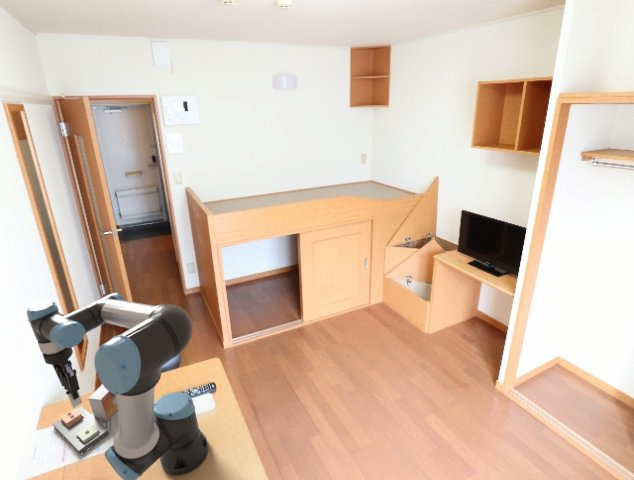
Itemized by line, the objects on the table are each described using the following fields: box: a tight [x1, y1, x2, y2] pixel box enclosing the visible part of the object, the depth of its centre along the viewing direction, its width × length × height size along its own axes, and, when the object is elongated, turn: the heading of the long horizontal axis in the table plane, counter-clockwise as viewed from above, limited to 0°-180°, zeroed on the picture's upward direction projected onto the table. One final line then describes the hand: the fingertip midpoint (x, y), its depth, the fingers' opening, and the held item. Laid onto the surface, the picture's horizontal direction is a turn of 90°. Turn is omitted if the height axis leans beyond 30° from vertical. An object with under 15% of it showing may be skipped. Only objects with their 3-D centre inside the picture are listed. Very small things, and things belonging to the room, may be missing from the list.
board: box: [52, 405, 110, 455], centre depth 135 cm, size 20×10×2 cm, turn 55°
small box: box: [87, 383, 118, 422], centre depth 141 cm, size 8×6×10 cm
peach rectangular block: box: [60, 407, 83, 429], centre depth 138 cm, size 5×5×3 cm
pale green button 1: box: [77, 424, 99, 445], centre depth 132 cm, size 5×5×3 cm
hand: (77, 404), depth 126 cm, fingers closed
